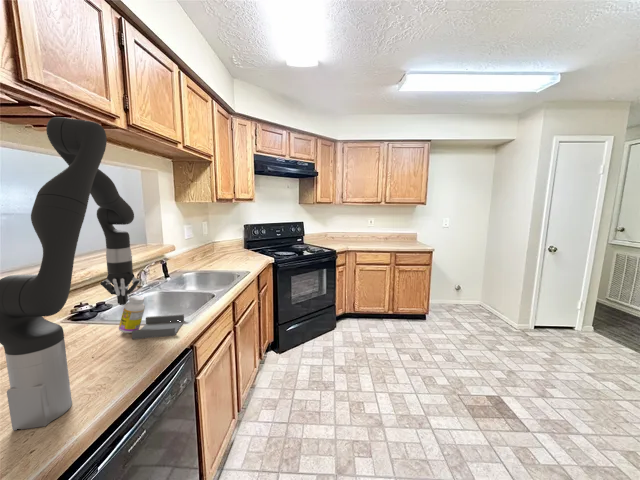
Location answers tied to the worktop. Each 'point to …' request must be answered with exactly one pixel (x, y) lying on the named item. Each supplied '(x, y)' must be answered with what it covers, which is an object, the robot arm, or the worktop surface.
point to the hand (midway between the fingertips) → (123, 304)
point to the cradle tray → (159, 326)
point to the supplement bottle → (132, 314)
